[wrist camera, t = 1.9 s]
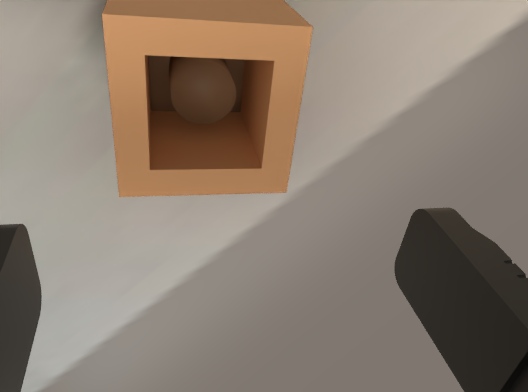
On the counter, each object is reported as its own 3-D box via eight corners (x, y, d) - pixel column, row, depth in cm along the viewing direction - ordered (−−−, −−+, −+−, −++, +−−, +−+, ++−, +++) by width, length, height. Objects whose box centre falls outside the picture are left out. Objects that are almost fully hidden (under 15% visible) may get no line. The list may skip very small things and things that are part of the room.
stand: (251, -17, 21) (286, 20, 15) (242, 95, 24) (269, 159, 19) (128, -27, 20) (118, 9, 14) (135, 93, 23) (129, 161, 17)
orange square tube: (277, -6, 18) (312, 26, 14) (261, 134, 21) (286, 192, 17) (114, -19, 16) (101, 13, 12) (126, 133, 20) (119, 196, 16)
